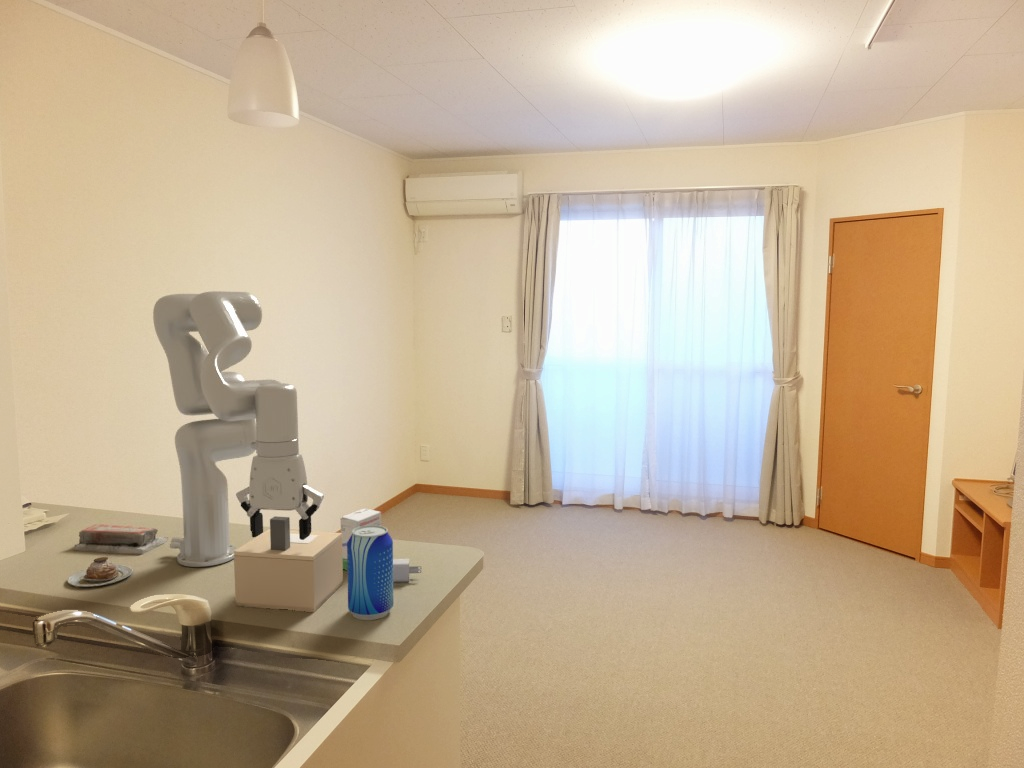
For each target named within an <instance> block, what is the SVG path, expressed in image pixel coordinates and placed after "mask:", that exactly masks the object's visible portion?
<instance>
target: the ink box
mask: <svg viewBox="0 0 1024 768" xmlns="http://www.w3.org/2000/svg"><path fill="white" fill-rule="evenodd" d="M365 525H380V526H382V511H378V510H374V509H369V508H361V509H359V510H355V511H353V512H351V513H347V514H345V515H342V517H341V518H340V533H342V559H343V569H345V571H347V542H348V540H349V539H350V537H351V535H352V530H353V529H355V528H357V527H360V526H365Z"/></svg>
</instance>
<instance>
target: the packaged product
mask: <svg viewBox="0 0 1024 768" xmlns="http://www.w3.org/2000/svg"><path fill="white" fill-rule="evenodd" d="M157 533H158V528H155V527H154V528H153V527H147V526H145V527H141V526H132V525H120V524H119V525H117V524H116V525H114V524H103V523H102V524H99V523H98V524H97V523H96V524H93V525H91V526H88V527H85V528H84V529H82V530H81V531H79V534H78V537H79V538H78V539H79V541H78V543H77V544H74V546H73V550H74V551H81V552H83V551H84V552H86V551H87V552H94V553H95V552H98V553H109V554H110V553H112V554H113V553H114V554H125V555H126V554H128V555H129V554H130V555H144V554H146V553H149V552H150V551H152V550H154V549H156V548H157V547H160V546H161V545H163V544H165V543H167V542H168V541H169V536H168V537H167V536H165V537H162V536H157Z"/></svg>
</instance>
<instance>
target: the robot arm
mask: <svg viewBox="0 0 1024 768" xmlns="http://www.w3.org/2000/svg"><path fill="white" fill-rule="evenodd" d="M152 315H153V316H152V317H153V318H152V319H153V325H154V329H155V330H154V331H155V333H156V335H157V338H158V340H159V342H160V345H161V347H162V349H163V351H164V353H165V355H166V359H167V362H168V368H169V373H170V374H169V375H170V379H171V380H170V381H171V385H172V386H171V387H172V392H173V395H174V396H173V397H174V400H175V405H176V407H177V410H178V411H179V412H180V413H181V414H182V415H184V416H193V417H194V416H206V415H214V416H215V417H216V418H211V419H202V420H201V419H200V420H194V421H190V422H186V423H185V424H183V425H181V426H180V427H179V428H178V430H177V431H176V432H175V436H174V445H175V450H176V455H177V458H178V463H179V470H180V480H181V498H182V501H181V502H182V521H183V525H182V527H183V537H178V536H174V537H172V538H171V541H170V544H169V548H170V549H179V553H178V555H177V557H176V559H177V563H178V564H179V565H181V566H185V567H189V568H190V567H191V568H204V567H212V566H217V565H221V564H222V565H223V564H225V563H228V562H230V561H232V560H234V551H235V550H237V549H238V548H237V547H236V546H234V545H232V544H231V543H230V541H231V540H230V517H229V514H230V513H229V491H228V490H229V485H228V484H229V483H228V479H227V477H226V475H225V473H224V472H223V471H222V470H221V469H220V468H219V467H218V466H217V464H216V463H218V462H221V461H226V460H228V461H229V460H233V459H239V458H246V457H248V456H251V455H253V454H254V453H255V451H256V455H254V456H253V457H252V460H251V466H250V475H249V486H248V487H246V488H245V487H244V489H241V490H240V491H238V492H236V494H235V496H236V498H237V500H238V501H239V503H240V507H241V508H242V509H243V511H245V513H246V515H247V517H248V518H249V527H250V533H251V537H252V538H255V537H257V536H259V535H260V534H262V533H263V532H264V518H263V517H264V516H263V513H262V512H261V510H266V511H296V512H297V514H298V515H299V516H300V517H301V518H300V519H299V520H298V530H299V538H300V539H301V540H304V539H305V538H307V537H308V536H309V535H310V533H311V531H312V516H314V514H315V512H317V511H318V509H319V508H320V506H321V504H322V502H323V499H324V497H325V496H324V494H323V493H321V492H319V491H318V490H315V489H314V488H312V487H310V486H308V478H307V471H306V466H305V462H304V457H303V455H302V454H299V453H300V451H299V450H300V448H299V424H298V422H299V421H298V419H299V418H298V415H299V414H298V392H297V388H296V387H295V385H293V384H289V383H282V382H280V381H278V380H276V379H259V380H257V379H255V380H254V379H253V380H246V378H245V377H244V376H243V375H242V374H240V373H239V372H235V371H225V370H227V369H229V368H232V367H233V366H235V365H237V364H238V363H240V362H242V361H243V360H244V359H246V358H247V357H248V356H249V354H250V352H251V351H252V346H253V344H252V339H251V337H250V335H249V334H248V332H247V331H253V330H256V329H258V327H259V326H260V324H261V322H262V319H263V310H262V306H261V303H260V301H259V300H258V299H257V298H256V297H255V295H253V294H251V293H250V292H246V291H222V290H221V291H219V290H218V291H215V290H214V291H213V290H212V291H204V292H201V293H175V294H174V293H173V294H168V295H165V296H161V297H160V298H158V300H157V301H156V302H155V303H154V306H153V311H152ZM192 332H198V334H199V336H200V338H201V340H202V342H203V343H204V345H203V344H202V343H201V342H200V341H199V340H198V339H197V338H195V336H193V335H192V334H191V333H192ZM204 346H205V347H204ZM309 498H311V499H312V502H311V505H309V504H308V500H309Z"/></svg>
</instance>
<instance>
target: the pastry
mask: <svg viewBox="0 0 1024 768" xmlns="http://www.w3.org/2000/svg"><path fill="white" fill-rule="evenodd" d="M133 571H134V569H133V568H132V567H131V566H128V565H123V564H115V563H114V562H113V561H109V557H108V556H102V557H97V558H94V559H93V562H92V563H90V565H89V566H88V567H87V568H85V569H82V570H79V571H76V572H74V573H73V574H72V575H70V576H69V577H68V578H67V580H66V581H67V583H68V584H69V585H71V586H73V587H75V588H76V589H77V588H82V587H89V588H90V587H91V588H93V587H101V586H106V585H107V586H108V585H111V584H114V583H117V582H119V581H122V580H124V579H126V578H128V577H130V576H131V575H132V574H133ZM120 574H121V576H120V577H119V578H117V577H118V576H119V575H120ZM115 578H117V579H115ZM81 579H83V580H84V581H87V582H90V583H97V584H84V583H80V580H81ZM113 579H115V580H113ZM102 582H104V583H102Z"/></svg>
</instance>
